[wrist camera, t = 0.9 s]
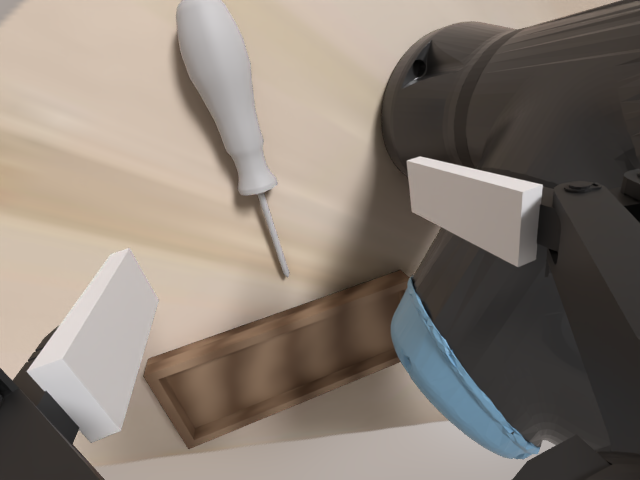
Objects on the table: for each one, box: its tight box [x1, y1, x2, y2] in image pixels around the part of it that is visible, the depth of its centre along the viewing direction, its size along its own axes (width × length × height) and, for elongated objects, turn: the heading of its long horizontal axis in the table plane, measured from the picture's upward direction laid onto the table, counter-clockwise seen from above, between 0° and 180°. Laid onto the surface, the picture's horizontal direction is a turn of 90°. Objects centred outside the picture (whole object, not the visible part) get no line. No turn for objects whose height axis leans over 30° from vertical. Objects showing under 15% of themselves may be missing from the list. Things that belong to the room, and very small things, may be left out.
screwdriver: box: [176, 0, 289, 278], centre depth 28 cm, size 5×25×4 cm, turn 13°
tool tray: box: [144, 270, 409, 449], centre depth 38 cm, size 30×12×2 cm, turn 102°
